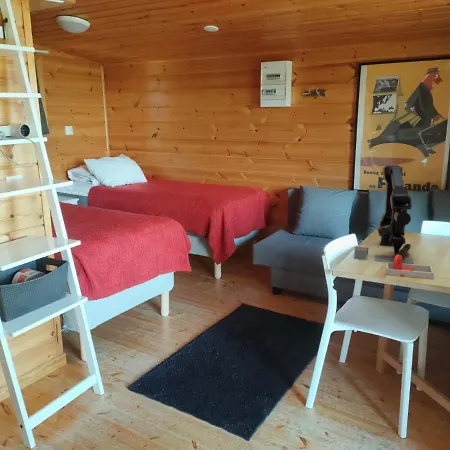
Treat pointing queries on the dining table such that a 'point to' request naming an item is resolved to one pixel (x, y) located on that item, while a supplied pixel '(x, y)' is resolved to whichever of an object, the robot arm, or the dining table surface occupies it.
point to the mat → (391, 259)
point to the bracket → (399, 264)
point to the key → (364, 247)
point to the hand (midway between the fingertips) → (395, 254)
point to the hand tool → (403, 251)
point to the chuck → (360, 253)
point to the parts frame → (411, 273)
